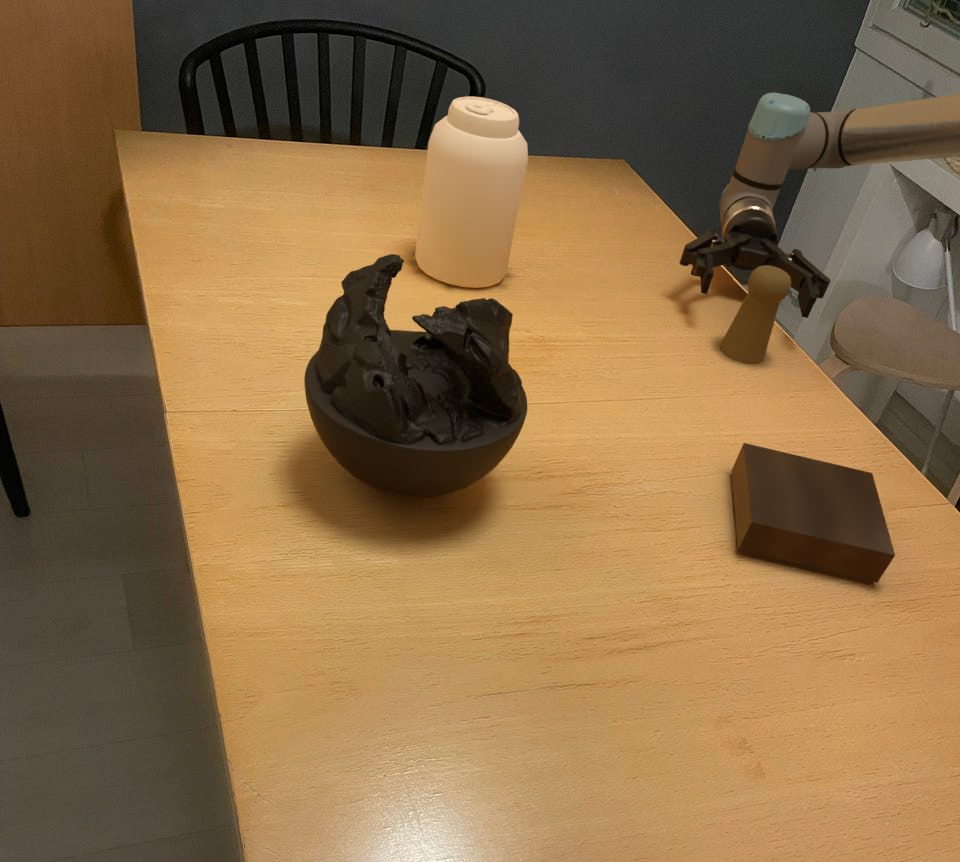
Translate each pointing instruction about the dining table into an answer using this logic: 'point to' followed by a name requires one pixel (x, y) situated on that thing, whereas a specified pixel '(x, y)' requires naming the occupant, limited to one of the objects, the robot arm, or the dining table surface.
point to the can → (471, 193)
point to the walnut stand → (809, 515)
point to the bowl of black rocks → (414, 389)
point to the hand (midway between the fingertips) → (758, 295)
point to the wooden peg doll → (756, 315)
